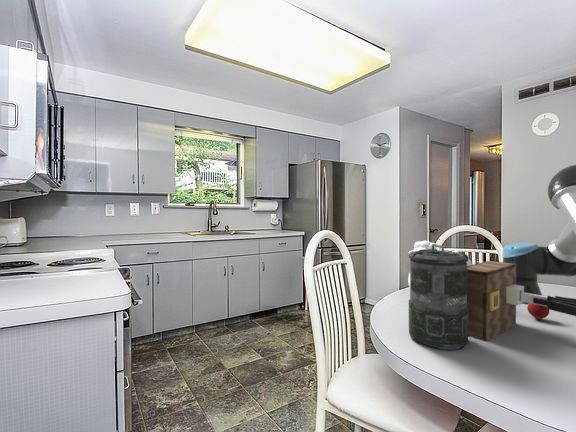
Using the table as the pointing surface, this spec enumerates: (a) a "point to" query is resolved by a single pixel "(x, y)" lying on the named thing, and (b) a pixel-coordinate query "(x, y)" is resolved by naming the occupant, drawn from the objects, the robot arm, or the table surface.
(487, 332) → the console
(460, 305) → the canister
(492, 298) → the button two
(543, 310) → the onion
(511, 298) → the button one
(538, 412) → the table surface
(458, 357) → the table surface
